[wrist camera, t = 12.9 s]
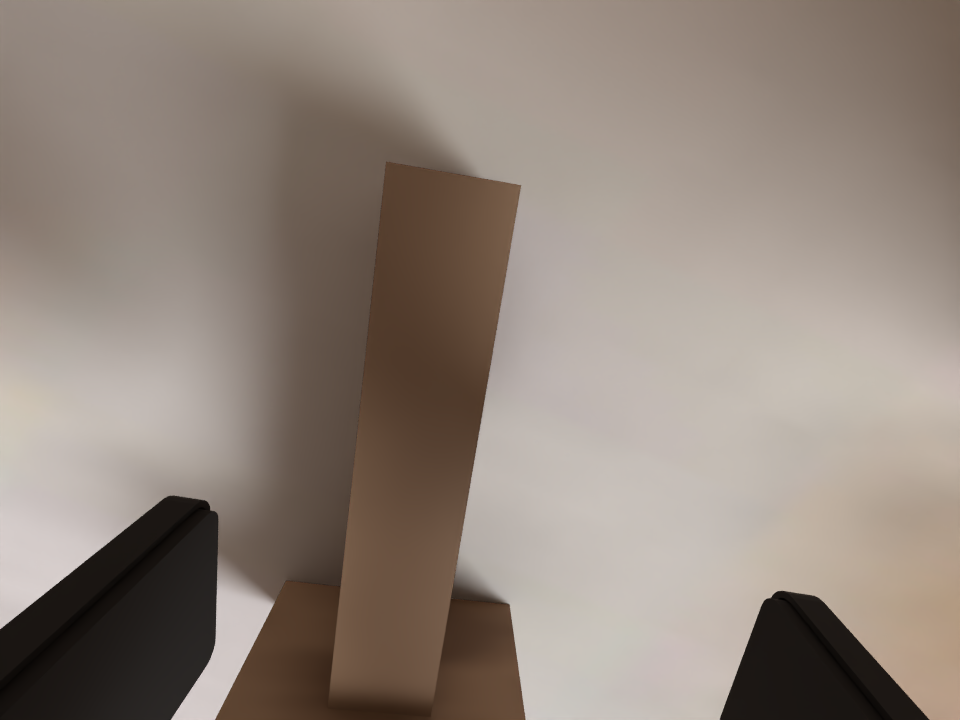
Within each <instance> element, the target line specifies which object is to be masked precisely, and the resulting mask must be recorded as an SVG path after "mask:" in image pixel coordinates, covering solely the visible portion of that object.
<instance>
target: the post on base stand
mask: <svg viewBox="0 0 960 720" xmlns="http://www.w3.org/2000/svg"><path fill="white" fill-rule="evenodd" d="M520 188H521V185H516V184H510V183H505V182H499V181H493V180H488V179H482V178H476V177H470V176H465V175H459V174H453V173H448V172H442V171H436V170H431V169H425V168H419V167H413V166H408V165H402V164H396V163H391V162H386V168H385V178H384V187H383V196H382V206H381V215H380V224H379V234H378V243H377V252H376V262H375V271H374V280H373V290H372V299H371V308H370V318H369V327H368V336H367V346H366V355H365V364H364V373H363V383H362V392H361V401H360V411H359V420H358V429H357V439H356V448H355V457H354V467H353V476H352V485H351V495H350V504H349V513H348V523H347V532H346V541H345V551H344V560H343V569H342V579H341V587H340V586H331V585H321V584H312V583H303V582H293V581H286V582H285V584H284V586H283V588H282V590H281V592H280V594H279V596H278V597H277V599H276V601H275V603H274V605H273V607H272V609H271V611H270V613H269V615H268V617H267V619H266V621H265V623H264V625H263V627H262V629H261V631H260V633H259V635H258V637H257V639H256V641H255V643H254V645H253V647H252V649H251V650H250V652H249V654H248V656H247V658H246V660H245V662H244V664H243V666H242V668H241V670H240V672H239V674H238V676H237V678H236V680H235V682H234V684H233V686H232V688H231V690H230V692H229V694H228V696H227V698H226V700H225V701H224V703H223V705H222V707H221V709H220V711H219V713H218V715H217V717H216V719H215V720H525V713H524V705H523V698H522V691H521V684H520V677H519V670H518V662H517V655H516V648H515V641H514V634H513V626H512V619H511V612H510V605H508V604H499V603H489V602H480V601H471V600H461V599H452V598H451V594H452V588H453V583H454V577H455V571H456V565H457V559H458V553H459V547H460V541H461V536H462V530H463V524H464V518H465V512H466V506H467V500H468V494H469V488H470V483H471V477H472V471H473V465H474V459H475V453H476V447H477V441H478V435H479V430H480V424H481V418H482V412H483V406H484V400H485V394H486V388H487V382H488V377H489V371H490V365H491V359H492V353H493V347H494V341H495V335H496V330H497V324H498V318H499V312H500V306H501V300H502V294H503V288H504V282H505V277H506V271H507V265H508V259H509V253H510V247H511V241H512V235H513V229H514V224H515V218H516V212H517V206H518V200H519V194H520Z"/></svg>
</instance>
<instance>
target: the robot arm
mask: <svg viewBox="0 0 960 720" xmlns="http://www.w3.org/2000/svg"><path fill="white" fill-rule="evenodd" d="M217 555H218V515H217V513H216V512H215V511H210V506H209V504H208V502H206V501H205V500H198V499H192V498H185V497H179V496H168V497H166V498H164V499H163V500H162V501H160V502H159V503H158V504H157V505H155V506H154V507H153V508H152V509H150V510H149V511H148V512H147V513H145V514H144V515H143V516H142V517H140V518H139V519H138V520H137V521H135V522H134V523H133V524H132V525H130V526H129V527H128V528H127V529H125V530H124V531H123V532H122V533H120V534H119V535H118V536H117V537H115V538H114V539H113V540H112V541H110V542H109V543H108V544H107V545H105V546H104V547H103V548H101V549H100V550H99V551H98V552H96V553H95V554H94V555H93V556H91V557H90V558H89V559H88V560H86V561H85V562H84V563H83V564H81V565H80V566H79V567H78V568H76V569H75V570H74V571H73V572H71V573H70V574H69V575H68V576H66V577H65V578H64V579H63V580H61V581H60V582H59V583H58V584H56V585H55V586H54V587H53V588H51V589H50V590H49V591H48V592H46V593H45V594H44V595H43V596H41V597H40V598H39V599H38V600H36V601H35V602H34V603H33V604H31V605H30V606H29V607H28V608H26V609H25V610H24V611H23V612H21V613H20V614H19V615H18V616H16V617H15V618H14V619H13V620H11V621H10V622H9V623H8V624H6V625H5V626H4V627H3V628H1V629H0V720H171V718H172V717H173V715H174V714H175V712H176V711H177V709H178V708H179V706H180V705H181V703H182V702H183V700H184V699H185V697H186V696H187V694H188V693H189V691H190V690H191V688H192V687H193V685H194V684H195V682H196V681H197V679H198V678H199V676H200V675H201V673H202V672H203V670H204V669H205V667H206V666H207V664H208V662H209V660H210V658H211V655H212V653H213V650H214V646H215V637H216V596H217ZM720 720H929V719H928V718H927V717H926V715H925V714H924V713H923V712H922V711H921V710H920V709H919V708H918V707H917V705H916V704H915V703H914V702H913V701H912V700H911V699H910V698H909V697H908V695H907V694H906V693H905V692H904V691H903V690H902V689H901V688H900V687H899V685H898V684H897V683H896V682H895V681H894V680H893V679H892V678H891V677H890V675H889V674H888V673H887V672H886V671H885V670H884V669H883V668H882V667H881V665H880V664H879V663H878V662H877V661H876V660H875V659H874V658H873V657H872V655H871V654H870V653H869V652H868V651H867V650H866V649H865V648H864V647H863V645H862V644H861V643H860V642H859V641H858V640H857V639H856V638H855V637H854V635H853V634H852V633H851V632H850V631H849V630H848V629H847V628H846V627H845V625H844V624H843V623H842V622H841V621H840V620H839V619H838V618H837V617H836V615H835V614H834V613H833V612H832V611H831V610H830V609H829V608H828V607H827V605H826V604H825V603H824V602H823V601H822V600H820V599H819V598H818V597H815V596H812V595H805V594H799V593H793V592H786V591H777V592H776V593H775V594H773V596H772V597H771V598H769V599H766V600H765V601H764V602H763V604H762V606H761V609H760V611H759V614H758V617H757V619H756V622H755V625H754V628H753V630H752V633H751V636H750V638H749V641H748V644H747V647H746V649H745V652H744V655H743V657H742V660H741V663H740V666H739V668H738V671H737V674H736V676H735V679H734V682H733V685H732V687H731V690H730V693H729V695H728V698H727V701H726V704H725V706H724V709H723V712H722V714H721V718H720Z"/></svg>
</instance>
